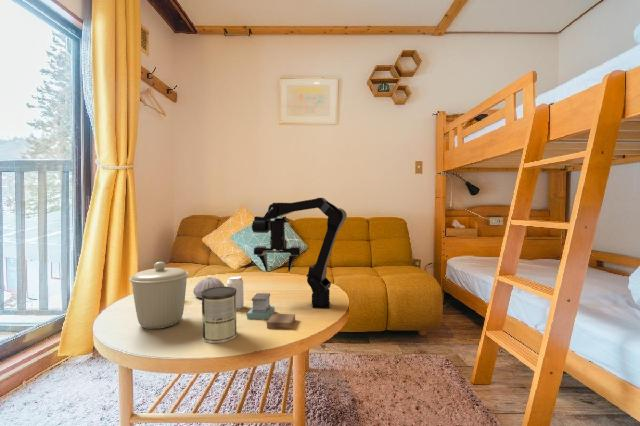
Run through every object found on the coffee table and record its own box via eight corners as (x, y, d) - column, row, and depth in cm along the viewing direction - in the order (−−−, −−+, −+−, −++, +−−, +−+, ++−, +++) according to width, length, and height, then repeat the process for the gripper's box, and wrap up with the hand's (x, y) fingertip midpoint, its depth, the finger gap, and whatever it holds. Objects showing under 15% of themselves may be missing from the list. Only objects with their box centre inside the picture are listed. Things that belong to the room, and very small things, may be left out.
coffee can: (195, 337, 100) (194, 291, 100) (224, 327, 108) (223, 284, 108) (214, 346, 94) (213, 297, 93) (244, 335, 102) (243, 290, 101)
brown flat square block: (295, 319, 114) (295, 314, 114) (291, 328, 106) (291, 322, 106) (272, 319, 115) (272, 313, 115) (267, 328, 107) (266, 322, 107)
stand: (274, 311, 123) (274, 306, 123) (269, 319, 115) (269, 313, 115) (253, 311, 124) (253, 305, 123) (247, 318, 116) (247, 313, 116)
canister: (122, 324, 111) (120, 262, 110) (175, 310, 125) (174, 255, 124) (143, 339, 99) (141, 269, 98) (199, 322, 113) (198, 261, 112)
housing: (265, 313, 116) (265, 299, 115) (251, 312, 116) (251, 298, 116) (270, 306, 123) (270, 293, 122) (257, 306, 123) (257, 293, 123)
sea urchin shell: (199, 302, 135) (199, 283, 135) (189, 295, 145) (188, 277, 145) (230, 296, 143) (230, 278, 143) (218, 289, 154) (218, 272, 154)
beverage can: (224, 308, 127) (223, 277, 127) (238, 304, 132) (237, 274, 131) (232, 312, 123) (231, 280, 122) (246, 308, 127) (246, 277, 127)
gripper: (303, 231, 141) (303, 267, 142) (260, 231, 143) (260, 267, 143) (299, 234, 130) (299, 273, 131) (253, 234, 132) (253, 272, 132)
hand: (278, 271), depth 134 cm, fingers open, 9 cm apart
